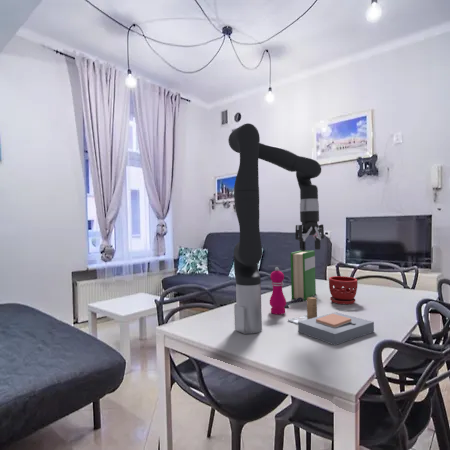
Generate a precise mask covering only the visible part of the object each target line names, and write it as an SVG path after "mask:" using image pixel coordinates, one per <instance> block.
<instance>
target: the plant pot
mask: <svg viewBox="0 0 450 450" xmlns="http://www.w3.org/2000/svg"><path fill="white" fill-rule="evenodd" d="M328 289H329V292H330V295H331V296H330V297H329V299H330V301H331V302H332V303H335V304H338V305H345V306H346V305H353V304H355V303H356V298H355V297H356V295H357V291H358V279H357V278H355V277H351V276H339V275H337V276H335V275H334V276H330V277H329V278H328Z"/></svg>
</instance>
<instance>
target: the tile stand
mask: <svg viewBox="0 0 450 450" xmlns="http://www.w3.org/2000/svg"><path fill="white" fill-rule="evenodd" d="M330 314H336V315H339V316H343V317H347V318H350V319H351V322H349V323H346V324H343V325H341V326H338V327H335V328H334V327H331V326H327V325H324V324H321V323H318V322H316V319H318V318H321V317H324V316H327V315H330ZM318 316H319V317H315V318H311V319H307V320H303V321H299V322H298V324H297V332H298V333H301V334H303V335H307V336H310V337H312V338H315V339H318V340H320V341H323V342H325V343H328V342H329V343H328V344H331V343H332V344H331V345H334V344H335V345H334V346H336V344H337V345H339V343H340V344H342V342H343V343H345V342H348V341H351V340H353V339H357V338H361V337H363V336H366V335H369V334H371V333H374V332H375V325H374V324H375V322H374V321H373V320H368V319H364V318H360V317H356V316H352V315H348V314H344V313H341V312H338V311H335V312H331V313H328V314H324V315H318ZM356 337H357V338H356ZM350 339H351V340H350ZM347 340H348V341H347Z"/></svg>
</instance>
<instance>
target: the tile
mask: <svg viewBox="0 0 450 450" xmlns="http://www.w3.org/2000/svg"><path fill="white" fill-rule="evenodd" d="M329 314H330V315H327V314H326V315H327V316H324V317H321V318H318V319H316V322H318V323H321V324H324V325H327V326H331V327H334V328H335V327H338V326H341V325H343V324H346V323H349V322H351V319H350V318H347V317H343V316H339V315H336V314H331V313H329Z"/></svg>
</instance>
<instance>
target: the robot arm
mask: <svg viewBox="0 0 450 450" xmlns="http://www.w3.org/2000/svg"><path fill="white" fill-rule="evenodd" d="M260 138H261V137H260V133H259V129H258V128H257V127H256V126H255V125H254V124H252V123H244V124H242V125H240V126H239V127H237V128H236V129H234V130H233V131H232V132H231V133H230V134H229V136H228V139H227V140H228V145H229V147H230V148H231V150H232V151H234V152H235V153H237V154H239V165H238V170H237V173H236V177H235V181H234V186H233V194H234V195H233V196H234V198H233V201H234V203H233V204H234V209H235V214H236V218H237V221H238V226H239V242H237V243H236V244H235V247H234V249H233V267H234V270H233V271H234V272H233V273H234V277H235V296H236V299H235V300H236V301H235V302H236V303H234V305H233V306H234V308H233V309H234V312H233V313H234V331H237V332H239V333H241V334H243V335H246V334H257V333H260V332H262V330H263V325H262V324H263V322H262V321H263V318H262V316H263V315H262V313H263V312H262V279H261V275H260V271H259V265H258V264H259V263H260V261H261V260H262V257H263V247H262V238H261V231H260V186H259V185H260V184H259V160H262V161H265V162H267V163H271V164H272V165H275V166H277V167H279V168H280V169H281V168H282V169H283V170H286V171H288V172H291V173H293V172H295V175H296V181H297V184H298V188H299V193H300V194H299V197H300V201H299V202H300V203H299V221H300V223H301V224H296V225H295V232H294V233H295V238H294V239H295V240H297V241H299V251H305V250H306V248H307V247H306V240H307V238H308V237H309V236H312V237H313V238H314V249H315V250H320V249H321V240H323V239H325V231H324V224H322V223H321V224H319V222H320V205H319V194H318V193H319V192H318V191H319V189H318V186H317V185H316V184H312V179H315V178H317V177H319V176H320V175H321V173H322V166H321V165H320V163H319V162H318V161H317V160H315V159H312V158H311V157H310V158H309V157H306V156H303V155H302V156H301V155H298V154H296V153H294V152H292V151H290V150H287V149H285V148H282V147H279V146H273V145H269V144H265V143H262V142H260Z"/></svg>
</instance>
